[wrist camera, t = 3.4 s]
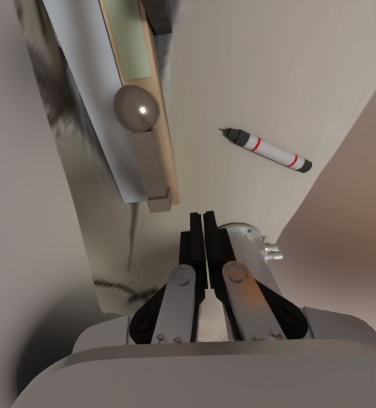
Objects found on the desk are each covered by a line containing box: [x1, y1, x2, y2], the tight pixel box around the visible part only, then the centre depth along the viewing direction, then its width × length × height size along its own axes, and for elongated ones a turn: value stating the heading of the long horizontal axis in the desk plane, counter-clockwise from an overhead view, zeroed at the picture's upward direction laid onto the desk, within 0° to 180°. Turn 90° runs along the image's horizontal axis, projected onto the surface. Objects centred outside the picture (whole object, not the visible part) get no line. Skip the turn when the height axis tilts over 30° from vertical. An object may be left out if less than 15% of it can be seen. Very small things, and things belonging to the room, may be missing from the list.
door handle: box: [113, 85, 173, 213], centre depth 19 cm, size 14×4×4 cm, turn 7°
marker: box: [222, 128, 312, 173], centre depth 23 cm, size 15×2×2 cm, turn 69°
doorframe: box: [43, 0, 180, 205], centre depth 18 cm, size 12×28×7 cm, turn 7°
